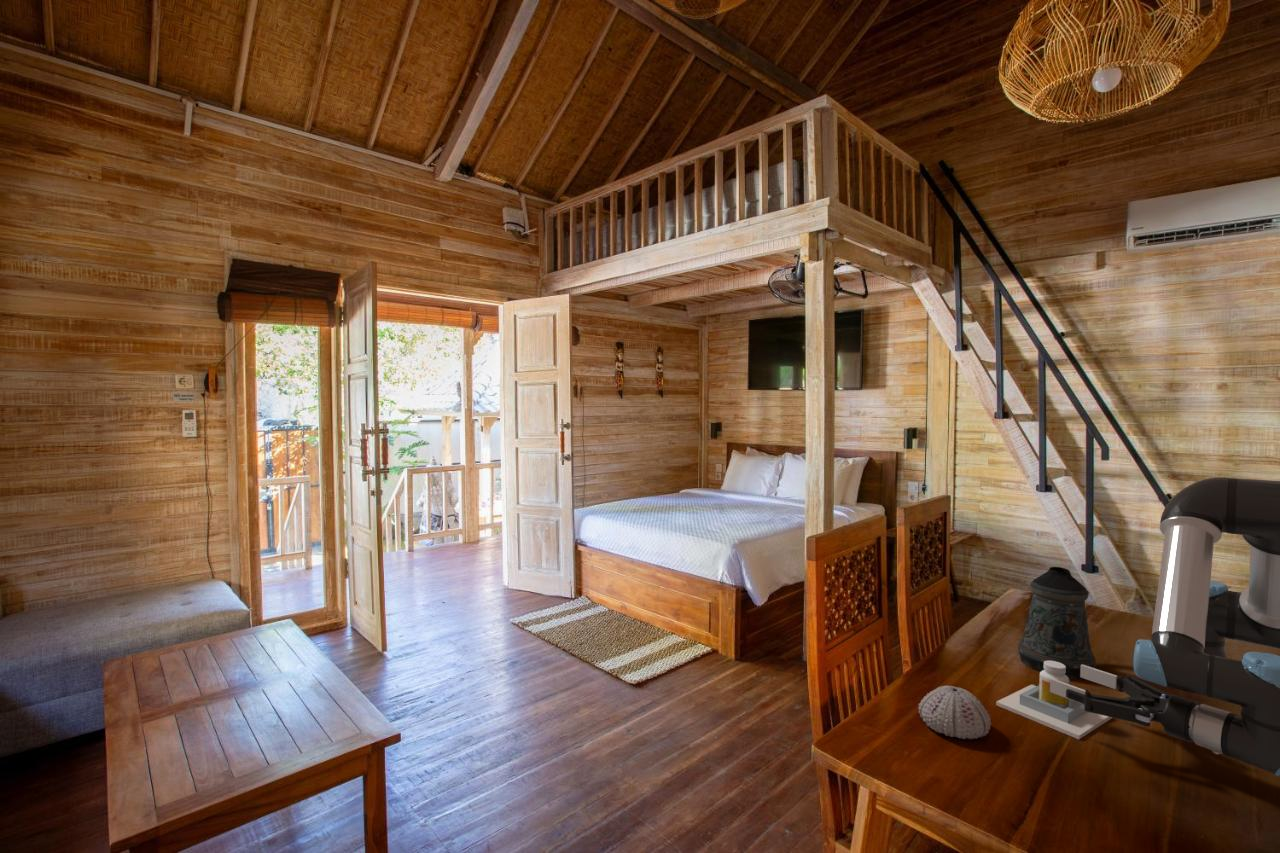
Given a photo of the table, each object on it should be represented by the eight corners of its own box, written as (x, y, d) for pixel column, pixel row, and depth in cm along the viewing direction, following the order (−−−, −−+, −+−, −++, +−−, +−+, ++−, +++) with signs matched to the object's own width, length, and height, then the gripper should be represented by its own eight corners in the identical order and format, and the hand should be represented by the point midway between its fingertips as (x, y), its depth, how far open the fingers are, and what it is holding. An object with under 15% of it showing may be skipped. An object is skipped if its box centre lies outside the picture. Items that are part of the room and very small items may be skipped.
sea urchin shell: (997, 751, 116) (998, 710, 115) (920, 737, 120) (921, 698, 120) (984, 717, 128) (985, 681, 128) (914, 706, 133) (915, 670, 132)
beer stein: (1036, 677, 148) (1040, 577, 147) (1001, 646, 167) (1004, 557, 166) (1110, 682, 145) (1114, 581, 144) (1066, 650, 164) (1070, 560, 163)
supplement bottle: (1073, 715, 127) (1075, 670, 127) (1045, 712, 129) (1046, 668, 128) (1060, 702, 133) (1062, 659, 132) (1034, 700, 134) (1035, 658, 133)
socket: (1031, 687, 142) (1031, 675, 142) (1112, 717, 128) (1112, 704, 128) (996, 705, 133) (996, 691, 133) (1078, 739, 120) (1079, 724, 120)
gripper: (1169, 763, 104) (1036, 709, 122) (1218, 724, 117) (1092, 681, 135) (1170, 720, 104) (1037, 673, 122) (1220, 687, 117) (1093, 648, 135)
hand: (1066, 677), depth 128 cm, fingers open, 13 cm apart
